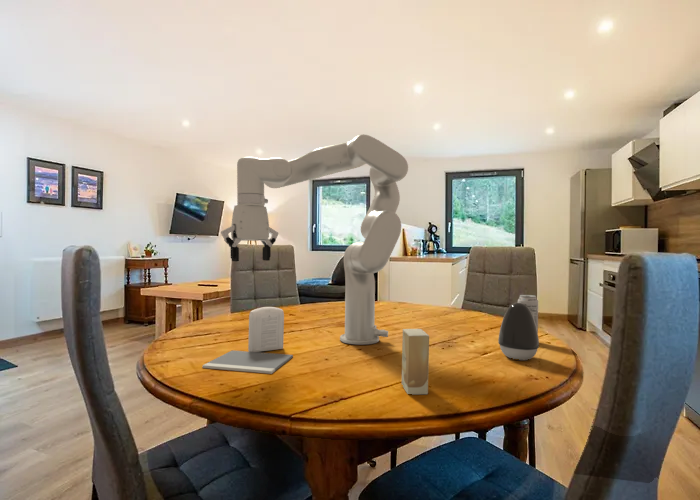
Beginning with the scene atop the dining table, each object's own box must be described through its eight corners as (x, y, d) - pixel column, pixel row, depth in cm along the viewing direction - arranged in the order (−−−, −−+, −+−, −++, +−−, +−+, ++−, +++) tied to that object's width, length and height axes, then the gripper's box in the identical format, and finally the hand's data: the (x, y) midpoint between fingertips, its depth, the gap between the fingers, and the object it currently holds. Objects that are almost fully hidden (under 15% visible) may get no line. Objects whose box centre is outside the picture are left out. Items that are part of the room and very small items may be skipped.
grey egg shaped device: (544, 357, 105) (544, 302, 105) (531, 365, 97) (532, 306, 97) (506, 350, 112) (507, 299, 112) (492, 357, 104) (493, 302, 104)
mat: (292, 357, 102) (292, 354, 102) (271, 373, 88) (271, 371, 88) (231, 352, 106) (231, 350, 106) (202, 367, 92) (202, 365, 92)
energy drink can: (538, 341, 123) (539, 295, 123) (536, 345, 118) (537, 297, 118) (518, 338, 127) (519, 294, 126) (515, 342, 121) (516, 295, 121)
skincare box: (400, 384, 83) (401, 328, 83) (420, 383, 83) (421, 328, 83) (407, 395, 76) (408, 335, 76) (429, 395, 77) (429, 334, 76)
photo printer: (279, 346, 114) (280, 304, 114) (285, 349, 110) (286, 306, 110) (246, 350, 108) (246, 307, 108) (251, 354, 104) (251, 309, 104)
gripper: (270, 204, 118) (271, 259, 118) (216, 200, 106) (216, 261, 106) (283, 202, 112) (284, 260, 112) (227, 197, 100) (227, 262, 101)
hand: (251, 260), depth 109 cm, fingers open, 9 cm apart
